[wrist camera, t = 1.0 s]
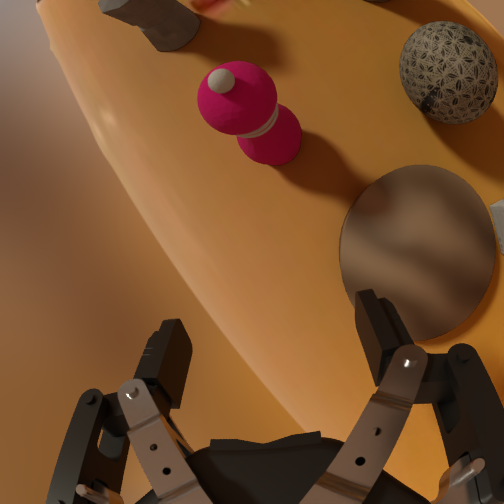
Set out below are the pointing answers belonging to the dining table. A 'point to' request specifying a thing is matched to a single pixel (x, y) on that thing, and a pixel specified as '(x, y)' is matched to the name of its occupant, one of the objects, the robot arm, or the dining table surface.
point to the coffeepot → (156, 20)
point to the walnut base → (419, 247)
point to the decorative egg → (448, 72)
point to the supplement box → (499, 221)
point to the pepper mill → (250, 112)
